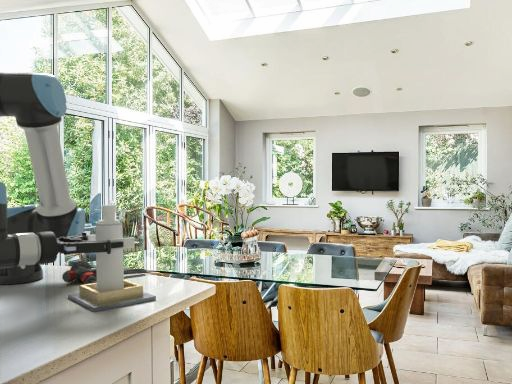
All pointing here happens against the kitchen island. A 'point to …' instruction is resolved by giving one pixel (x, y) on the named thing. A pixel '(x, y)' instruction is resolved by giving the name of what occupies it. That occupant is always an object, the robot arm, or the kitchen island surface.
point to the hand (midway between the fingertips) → (122, 240)
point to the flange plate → (110, 296)
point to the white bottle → (111, 264)
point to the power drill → (89, 273)
